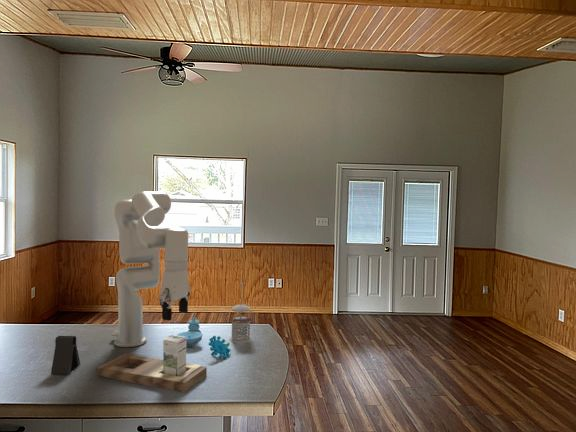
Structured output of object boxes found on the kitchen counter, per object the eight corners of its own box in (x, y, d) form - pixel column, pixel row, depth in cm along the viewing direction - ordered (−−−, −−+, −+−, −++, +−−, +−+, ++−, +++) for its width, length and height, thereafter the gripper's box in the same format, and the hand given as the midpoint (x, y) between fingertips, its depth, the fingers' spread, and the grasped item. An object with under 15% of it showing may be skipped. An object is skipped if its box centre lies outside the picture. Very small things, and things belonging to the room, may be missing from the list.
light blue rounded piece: (200, 350, 181) (200, 328, 181) (173, 349, 181) (174, 327, 180) (207, 335, 199) (207, 315, 199) (183, 335, 199) (183, 315, 198)
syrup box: (186, 377, 154) (187, 336, 153) (177, 384, 148) (177, 341, 148) (172, 375, 156) (172, 333, 155) (162, 381, 150) (162, 339, 149)
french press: (224, 339, 195) (225, 281, 194) (246, 333, 203) (247, 278, 202) (237, 345, 188) (238, 285, 187) (259, 339, 196) (260, 282, 194)
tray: (98, 375, 154) (98, 366, 154) (125, 361, 167) (125, 352, 167) (184, 392, 143) (184, 382, 143) (206, 375, 156) (206, 366, 156)
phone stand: (64, 364, 163) (63, 332, 162) (80, 365, 163) (80, 332, 162) (50, 374, 154) (50, 340, 153) (68, 375, 154) (67, 340, 153)
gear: (218, 358, 167) (206, 336, 172) (209, 367, 169) (197, 345, 174) (237, 354, 177) (225, 332, 181) (228, 362, 179) (216, 341, 183)
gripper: (180, 260, 159) (179, 308, 161) (150, 268, 143) (149, 321, 144) (199, 262, 157) (198, 310, 158) (170, 271, 141) (170, 324, 142)
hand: (175, 315), depth 151 cm, fingers open, 9 cm apart
